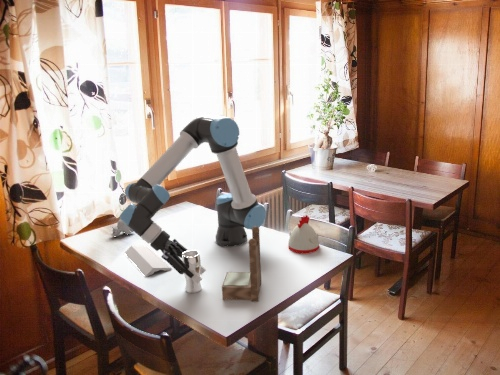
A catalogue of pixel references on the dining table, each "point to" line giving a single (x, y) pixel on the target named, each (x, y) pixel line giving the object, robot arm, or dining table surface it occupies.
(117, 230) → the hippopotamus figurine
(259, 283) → the wooden l-shaped piece
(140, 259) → the crown molding
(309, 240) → the kitchen timer
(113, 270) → the dining table surface
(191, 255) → the white tumbler cup
